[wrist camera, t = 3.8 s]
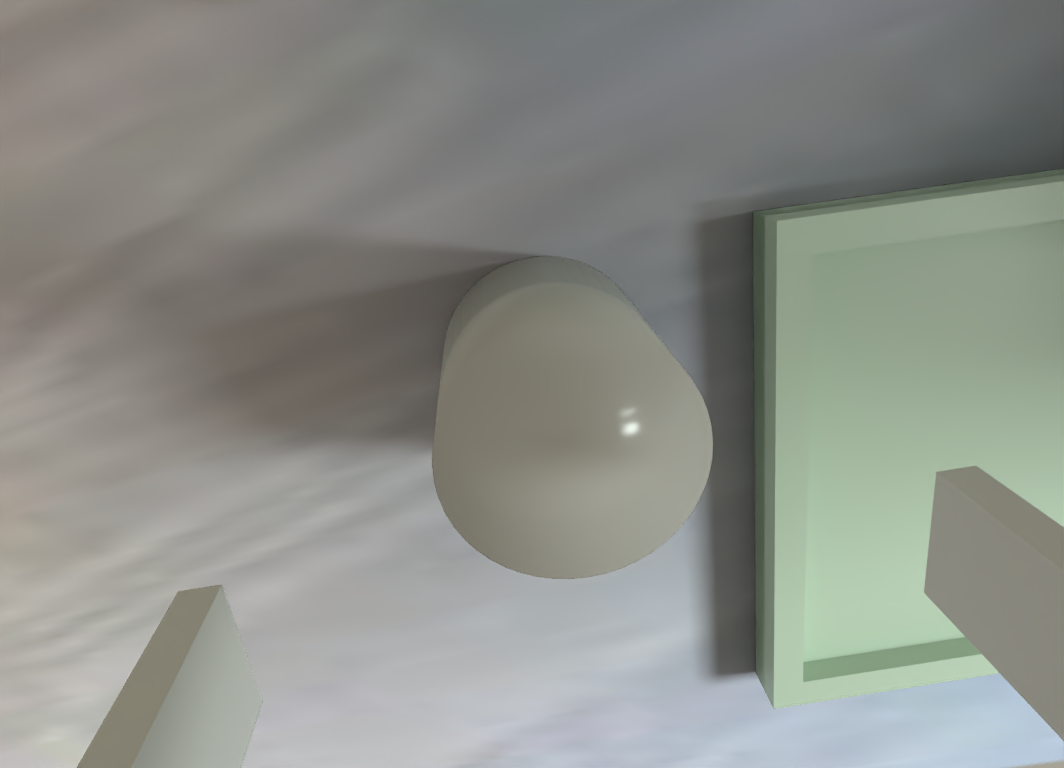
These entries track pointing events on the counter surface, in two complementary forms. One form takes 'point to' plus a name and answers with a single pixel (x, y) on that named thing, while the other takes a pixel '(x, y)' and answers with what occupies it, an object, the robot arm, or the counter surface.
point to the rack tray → (894, 415)
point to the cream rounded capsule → (564, 424)
